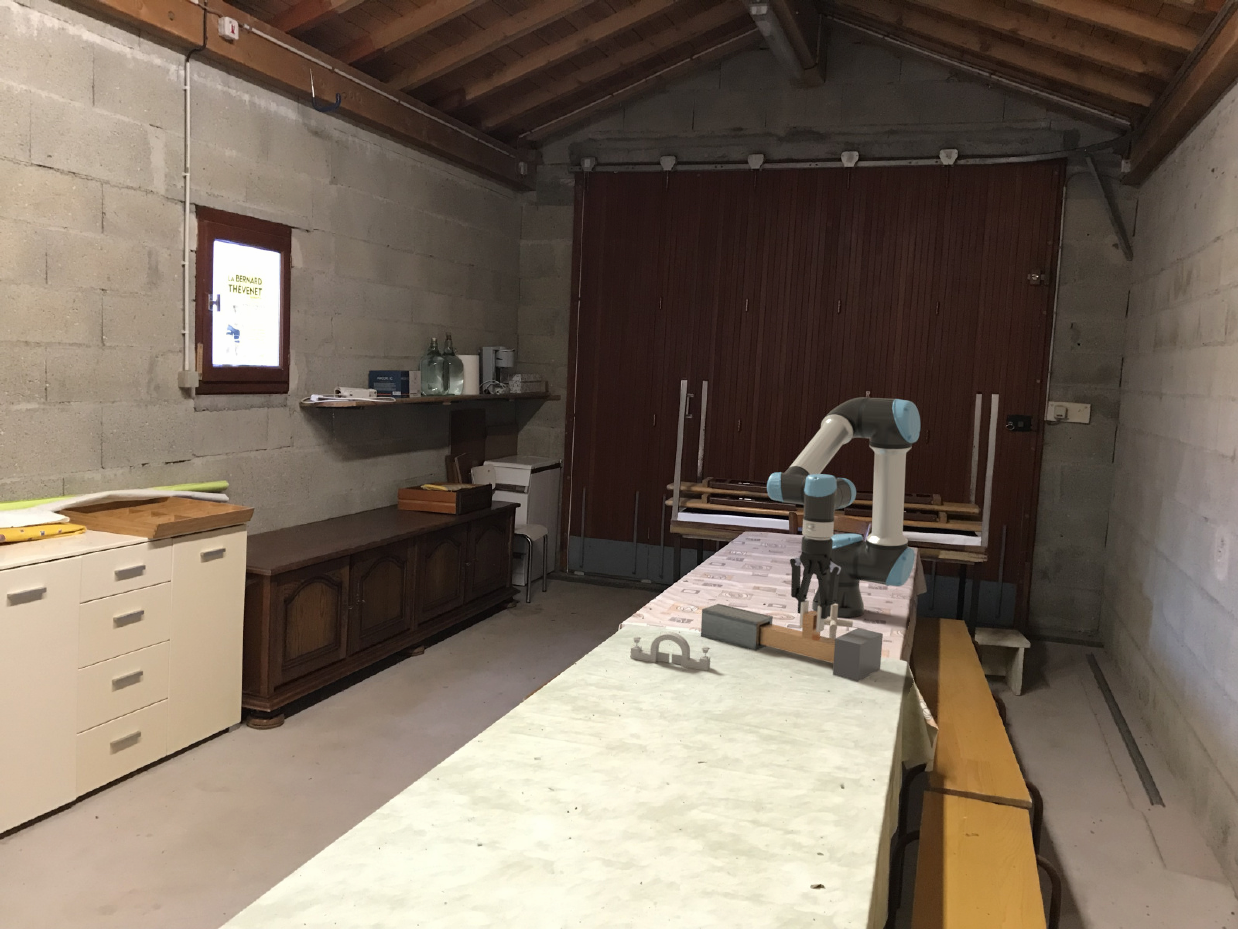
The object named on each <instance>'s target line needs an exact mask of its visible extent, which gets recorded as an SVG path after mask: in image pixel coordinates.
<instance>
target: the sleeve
mask: <svg viewBox="0 0 1238 929" xmlns="http://www.w3.org/2000/svg"><path fill="white" fill-rule="evenodd" d="M700 622H701V623H700V624H701V626H700V637H701V638H706V639H709V640H713V641H716V642H721V643H723V644H724V643H725V644H727V645H731V646H736V647H740V648H743V649H748V650H751V651H755V652H756V651H759V650H761V649H763V648H765V647H767V646H766V645H762V644H758V636H759V625H761V624H764V623H769V624H773V616H772V615H768V614H764V613H760V612H756V611H755V612H754V611H751V610H747V609H744V608H743V609H742V608H738V607H734V606H730V605H726V604H721V603H717V604H714V605H710V606H707V607H704V608H702V609H701V621H700Z"/></svg>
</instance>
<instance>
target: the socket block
mask: <svg viewBox="0 0 1238 929" xmlns="http://www.w3.org/2000/svg"><path fill="white" fill-rule="evenodd" d="M883 635H884V634H883V633H881V632H877V631H873V630H869V629H864V628H861V627H860V628H859V627H857V628H855V629H853V630H850V631H849V632H846V633H844V634H842V635H840V636H836V638H835V648H834V663H833V668H832V675H833V676H835V677H840V678H844V679H848V680H851V681H855V682H859V681H862V680H864V679H865V678H867V677H868V676H870V675H872V674H874V673H876V672H878V671H879V670H881V665H882V664H881V663H882V653H883V652H882V650H883V637H884V636H883Z"/></svg>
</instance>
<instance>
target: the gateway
mask: <svg viewBox="0 0 1238 929" xmlns="http://www.w3.org/2000/svg"><path fill="white" fill-rule="evenodd" d="M641 639H642V637H640V636H637V635H636V636H634V637H633V638H632V640H633V642H634V643H635V645H632V646H631V647H630V659H632V660H640V661H644V662H645V661H646V662H650V661H651V662H652V663H656V662H657V661H658V662H662V663H663V662H664V663H670V653H668V652H662V651H659V648H660V644H661V642H664V641H671V642H674V643H675V644H677V645H678V647H679V648H680V650H681V654H677V653H672V654H671V663H672V664H677V665H678V664H679V665H681V666H680V667H682V668H683V667H684V668H688V667H689V669H694V670H695V669H696V670H700V671H708V670H709V669H710V668H711V656H707V654H708V652H709V650H710V649H711V648H710V647H709V646H702V648H701V650H702V653H703V654H704V655H701V657H700V658H697V657H696V658H695V657H691V648H690V644H689V642H688V641H687V639H685V638H684V637H683V636H682V635H681V634H679V633H677V632H674V631H667V632H664V633H661V634H660V635H658V636H657V637H655V638H654V640H653V641H652V642H651V645H650V650H649V651H648V650H644V649H643V648H642V646H640V645H638V644H639V643H640V641H641Z"/></svg>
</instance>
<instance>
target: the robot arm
mask: <svg viewBox="0 0 1238 929" xmlns="http://www.w3.org/2000/svg"><path fill="white" fill-rule="evenodd" d="M920 432H921V417H920V413H919V410H918V408H917V406H916V404H915V403H914V402H913V401H910V400H905V399H899V398H881V397H863V396H861V397H855V398H851V399H849V400H846V401H845V402H843V403H841V404H839V405H838V406H836V407H835V408H833V409H832V410H830V411H829V413H827V414H826V415H825V417H824V418H823V419H822V420H821V423H820V429H818V431H817V432H816V434H815V435H814V436H813V437H812V438H811V440H810V441H809V442H808V444H807V445H806V446H805V447H804V449H803V450H802V451H801V452H800V454H798V456H797V457H796V458H795V460H793V463H791V465H790V466H789V467H788V469H787V470H785V472H781V471H780V472H773V473H771V474H770V476H769V477H768V480H767V483H766V491H767V495H768V497H769V498H770V499H771V500H773V501H776V502H777V501H778V502H781V503H788V504H796V505H803V518H802V533H801V534H802V535H803V536H802V537H801V546H800V548H801V549H800V550H801V553H800V555H799V557H792V558H791V559H790V560H789V563H790V566H791V581H790V582H791V584H790V586H791V587H790V588H791V590H790V592H791V593H790V595H791V598H794V599H796V600H797V613H798V614H800V615H799V626H798V627H799V629H800V628H801V629H803V614H804V613H806V612H809V608H810V606H809V604H810V603H809V602H810V600H808V592H809V589H810V586H811V582H812V581H811V580H812V577H813V575H815V576H816V579H817V583H818V587H817V589H816V591H815V593H814V597H813V599H812V602H811V603H812V604H811V608H812V611H816V612H817V626H816V632H820V633H821V632H824V630H825V625H824V623H825V619H826V618H828V617H829V616H830V613H831V605H833V604H838V613H837V618H838V617H841V618H853V617H859V616H862V615H864V611H865V610H864V609H865V606H864V604H865V603H864V601H863V597H862V593H861V589H860V581H861V582H868V583H873V584H879V585H884V586H887V587H890V586H891V587H902V586H903V585H905V584H906V583H907V582H908V580H909V578H910V577H911V574H912V571H913V568H914V563H915V558H916V556H915V555H916V554H915V550H914V548H911V547H910V546H908V545H909V544H908V543H909V541H908V538H907V537H906V536H905V535H904V534H903V533H904V531H903V530H904V509H905V508H904V507H905V488H906V487H905V484H906V464H907V463H906V461H907V459H906V458H907V453H908V452H909V451H910V450H912V446H913V444H914V443H916V442H917V441H918V439H919V437H920ZM855 438H856V439H857V438H860V439H861V438H862V439H869V443H868V445H869V448H870V449H871V450H872V451H873V452H874V458H873V459H874V462H873V463H874V465H873V488H872V489H873V491H872V492H873V493H872V518H871V519H872V521H871V522H872V523H871V533H869V534H868V536H866V538H865V539H866V540H864V537H863V535H862V534H859V533H858V534H857V533H837V534H834V529H835V528H834V526H835V515H836V514H835V512H836V511H837V510H839V509H845V508H846V507H848V506H850V505H851V504H852V503H854V502H855V500H856V497H857V496H856V495H857V489H856V485H855V484H854V482H852V481H851V480H850V479H847V478H844V477H836V476H835V475H831V474H825V473H823V474H822V472H823V471H824V469H826V466H827V465H828V464H829V463H830V462H831V460H832V459H833V458H834V457H835V455H836V454H837V453H838V451H839V450H840V449H841V447H842V446H843V445H845V444H848V443H849V442H850V441H851V440H852V439H855ZM835 510H836V511H835ZM801 566H803V571H802V570H801V569H802V568H801ZM801 571H802V579H801Z"/></svg>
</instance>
